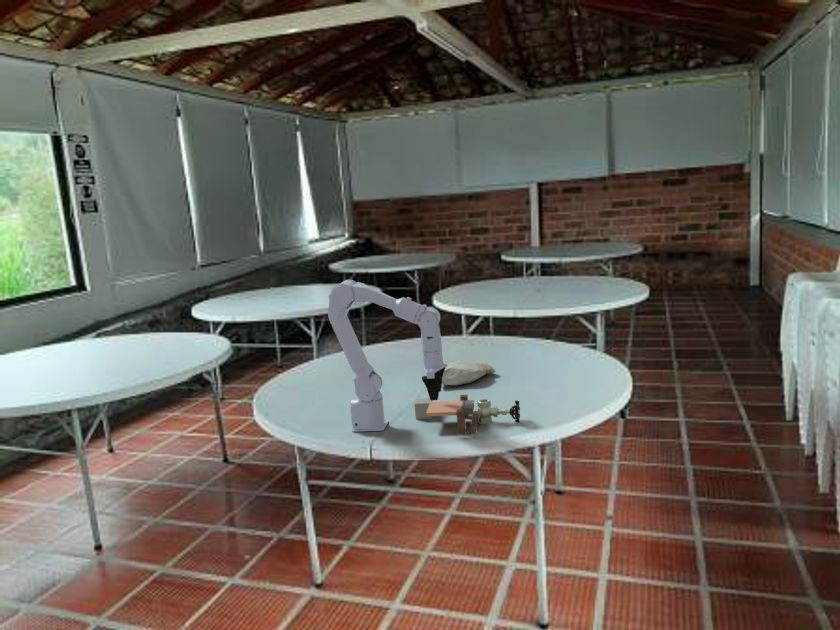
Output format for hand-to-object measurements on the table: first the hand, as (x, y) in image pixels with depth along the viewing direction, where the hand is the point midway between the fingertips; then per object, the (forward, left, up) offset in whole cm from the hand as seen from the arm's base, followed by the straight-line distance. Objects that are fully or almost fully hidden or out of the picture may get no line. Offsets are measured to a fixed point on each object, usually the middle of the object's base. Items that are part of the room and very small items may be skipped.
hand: (435, 395), depth 190 cm
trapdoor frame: (+9, 0, -9) cm, 13 cm away
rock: (+3, +45, -9) cm, 46 cm away
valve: (+18, +1, -9) cm, 20 cm away
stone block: (-5, +8, -9) cm, 13 cm away
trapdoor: (+4, 0, -5) cm, 6 cm away
